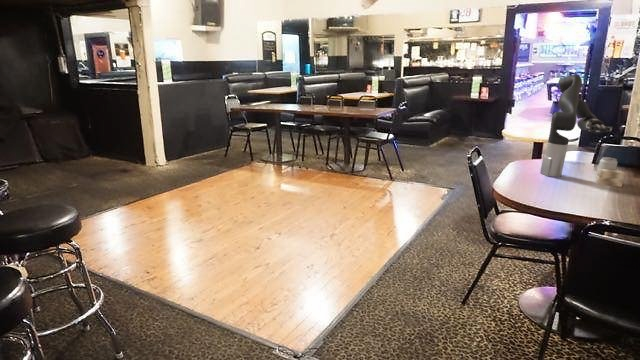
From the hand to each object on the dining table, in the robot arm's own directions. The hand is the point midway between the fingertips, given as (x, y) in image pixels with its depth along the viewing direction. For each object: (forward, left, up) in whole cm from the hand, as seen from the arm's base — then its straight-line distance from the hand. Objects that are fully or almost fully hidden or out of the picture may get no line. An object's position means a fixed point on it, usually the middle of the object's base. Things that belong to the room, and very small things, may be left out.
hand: (603, 130), depth 225 cm
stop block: (-11, -23, -23) cm, 34 cm away
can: (-8, -17, -23) cm, 30 cm away
